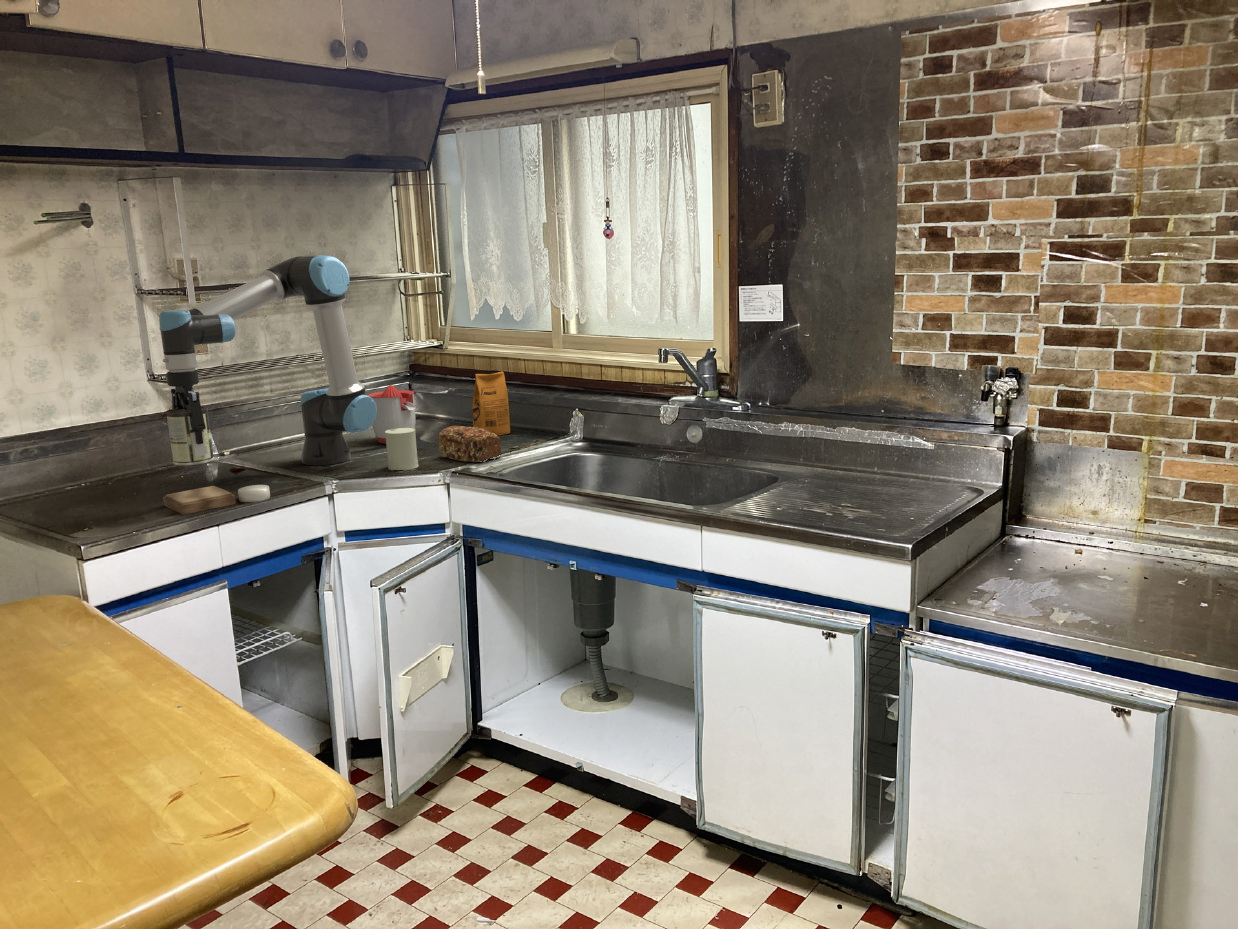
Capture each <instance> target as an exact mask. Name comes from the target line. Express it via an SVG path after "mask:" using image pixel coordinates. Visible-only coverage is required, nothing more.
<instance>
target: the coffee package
mask: <svg viewBox="0 0 1238 929" xmlns="http://www.w3.org/2000/svg"><path fill="white" fill-rule="evenodd" d="M474 376H475V383H474V391H473V396H472V427H475V428H482V429H484V430H486V431H490V432H492V433H494V434H496V435H497V436H498V437H500V436H502V435H503V436H505V435H508V434H510V433H511V426H510V425H511V424H510V423H511V420H510V409H509V408H510V406H509V394H508V388H507V383H506V376H505V373H504V371H499V372H495V373H489V374H487V373H475V374H474Z"/></svg>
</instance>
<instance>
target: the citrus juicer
mask: <svg viewBox="0 0 1238 929" xmlns="http://www.w3.org/2000/svg"><path fill="white" fill-rule="evenodd" d="M414 395H415V392H414V391H412V390H407V389H406V390H404V389H403V390H402V389H400V390H399V389H397V388H396V387H395V386H394V385H392V384H389V385H387V387H386V388H385V390H383V391H378V392H377V391H376V392H372V393H369V394H367V396H369V397H371V398H372V399H373V400H374V401H375V403H376V407H377V415H376V419H375V421H373V424H372V426H371V427H372V431H373V432H374V436H375V439H376V441H377V442H378V443H379V444H385V445H386V436H385V431H387V430H390V429H396V428H413V429H415V430H416V421H417V420H416V408H417V407H416V404H415V396H414Z"/></svg>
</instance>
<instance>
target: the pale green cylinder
mask: <svg viewBox="0 0 1238 929" xmlns="http://www.w3.org/2000/svg"><path fill="white" fill-rule="evenodd" d="M385 436H386V444H385V445H386V455H387V469H388V470H389V471H393V470H403V471H410V470H414V469H417V468H418V467H419V466H420V465H419V459H418V450H417V438H416V437H417V436H416V428H415V429H413V428H396V429H390V430H387V431H385Z"/></svg>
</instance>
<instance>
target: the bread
mask: <svg viewBox="0 0 1238 929" xmlns="http://www.w3.org/2000/svg"><path fill="white" fill-rule="evenodd" d="M437 442H438V447H439V448H438V450H439V452H440V456H441V457H443V458H444V459H445V458H449V459H450V460H454V461H460V462H467V463H468V462H469V463H475V462H480V461H484V460H486V459H490V458H493V457H497V456H499V455H502V446H501V443H502V442H501V438H500V436H497V435H496V434H494V433H492V432H490V431H486V430H484V429H482V428H475V427H473V426H464V425H463V426H462V425H461V426H460V425H451V426H447V427H446V428H445V427H444V428H443V429H441V431H439V435H438V439H437Z"/></svg>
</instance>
